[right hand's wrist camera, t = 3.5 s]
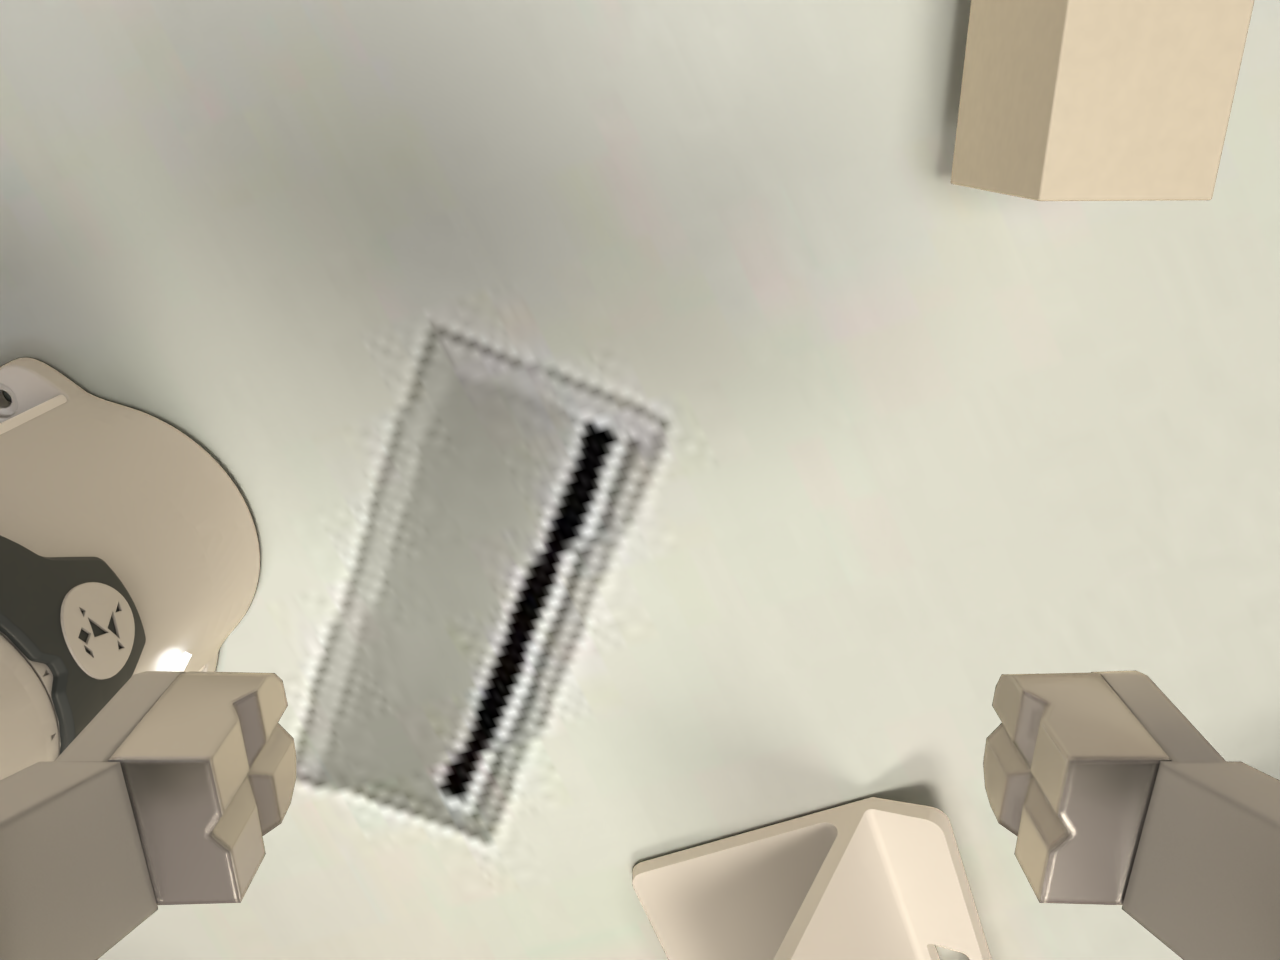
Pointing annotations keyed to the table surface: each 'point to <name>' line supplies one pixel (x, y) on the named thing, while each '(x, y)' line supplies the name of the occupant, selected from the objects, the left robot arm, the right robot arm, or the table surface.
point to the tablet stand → (818, 890)
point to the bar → (1098, 97)
